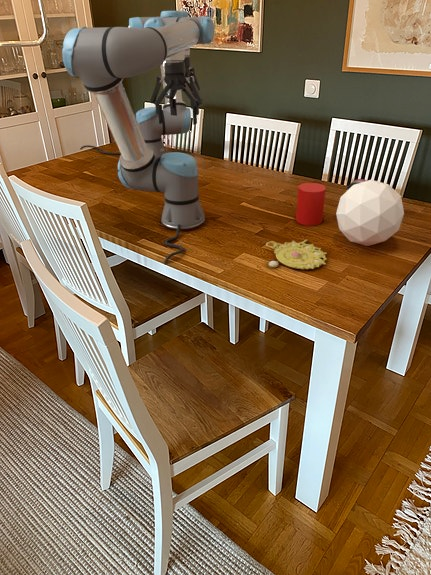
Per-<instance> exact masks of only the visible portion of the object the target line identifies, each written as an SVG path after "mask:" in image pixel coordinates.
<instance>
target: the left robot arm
mask: <svg viewBox="0 0 431 575" xmlns="http://www.w3.org/2000/svg"><path fill="white" fill-rule="evenodd" d="M180 11H181V13H182V17H189V13H188V11H187V10H180ZM153 17H155V18H156V17H158V18H161V16H141V17H140V16H136V17H135V16H134V17H130V18H129V20H128V28H144V24H145V22H146V21H147V20H148V19H150V18H153ZM190 55H191V47H190V48H187V49H185V50H184V56H185V60H183V62H184V63H185V75H186V77H191V76H194V80H195V84H196V86H197V88H198V90H199V91H200V90H201V88H200V85H199V82H198V79H197V76H196V71H195V68H194V67H192V64H191V56H190ZM164 63H165V61H164ZM164 63H163V64H162V65H160V66H159V67H160V73H161V77H165V71H164ZM166 85H167V84H166V83H165V81H163V83H162V88H163V90H164V88H165V86H166ZM185 85H186V86H187V87H188V89H189V90H190V92H191V93H192V94H193V96H194V97H195V98H196V96H195V94H194V92H193V90H192V87H191V85H190V83H188V81H186V83H185ZM196 99H197V98H196ZM189 100H190V99H189ZM192 106H194V104H193V103H192V101H191V100H190V107H187V103H186V102H184V101H183V91H182V90H181V89H180V90H171V89H170V90H169V91H168V92H167V94H166V95H165V97H164V104H162V111H163V123H162V124H159V115H158V114H156V107H155V106H149V107H144V108H142V109H139V110H138V111H137V112H136V113H135V118H136V120H137V123H138V126H139V128H140V131H141V133H142V136H143V139H144V141H145V144H146V145H149V146H150V147H151V148H152V149H153V152H154V154H155V156H156V157H161V156H162V155H163V154H165V153H168V152H167V150H166V148H165V145H164V142H163V136H172V135H183V134H188V133H189V132H190V130H191V120H192V115H191V114H192V113H191V110H193V107H192ZM84 148H92V149H97V150H98V151H99V153H101V154H105V155H121V153H120V152H112V151H111V152H110V151H103V150H102V149H101V147H100V146H95V145H88V144H87V145H85V144H84V145H82V146H81V147H80V148H79V150H80V151H81V150H83V149H84Z"/></svg>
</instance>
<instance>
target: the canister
mask: <svg viewBox="0 0 431 575" xmlns="http://www.w3.org/2000/svg"><path fill="white" fill-rule="evenodd" d="M326 191H327V187H326V185H324V184H321V183H318V182H304V183H301V184H299V185H298V186H297V198H296V199H297V201H296V209H295V210H296V212H295V221H296V223H298V224H300V225H302V226H307V227H308V226H309V227H311V226H313V227H314V226H318V225H320V224H322V223H323V218H324V209H325V199H326Z"/></svg>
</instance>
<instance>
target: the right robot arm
mask: <svg viewBox="0 0 431 575" xmlns="http://www.w3.org/2000/svg"><path fill="white" fill-rule="evenodd" d="M181 11H182V10H162V11H161V12H160V17H161V18H158V17H159V16H152V17H153V18H150V19H148V20H147V21H146V22H145V24H144V28H128V27H129V26H128V27H127V26H126V27H125V26H108V27H106V26H105V27H104V26H103V27H88V26H83V27H75V28H71V29H70V30H69V31H68V32H67V33H66V34H65V37H64V39H63V42H62V50H61V51H62V52H61V54H62V62H63V65H64V68H65V70H66V72H67V73H68V74H69V75H70V76H71V77H73V78H76V79H80V81H81V83H82V85H83V87H84V89H85V91H87V92H90V93H92V94H93V95H94V97H95V100H96V102H97V104H98V107H99V108H100V111H101V113H102V115H103V118H104V119H105V122H106V124H107V127H108V129H109V131H110V133H111V135H112V137H113V139H114V142H115V145H116V147H117V148H118V151H119V153H121V154H120V156H119V160H118V162H117V171H118V172H117V177H118V178H119V181H120V183H121V184H122V185H123V186H124V187H125V188H127V189H130V190H134V191H142V192H152V193H161V194H163V195H164V204H163V209H162V213H161V219H160V220H161V225H162V227H163V228H165V229H167V230H170V231H175V235H174V236H173V237H170V238H166V239H165V240H164V244H165V245H166V246H167V247H170V248H171V247H172V248H175V249H176V248H177V249H179V250H177V251H174V252H171V253H169V254H168V255H167V256H166V257H165V259H164V261H163V265H168V262H169V260H170V259H171V258H172V257H173V256H176V255H180V254H182V253H183V252H184V247H183V246H181V245H180V244H175V243H170V242H172V241H175V240H176V239H178V237H179V235H180V232H185V231H186V232H187V231H192V230H195V229H198V228H201V227H202V226H203V225H204V224H205V223H206V216H205V212H204V210H203V208H202V204H201V202H200V196H199V170H198V164H197V163H198V162H197V160H196V159H195V157H194V156H192V155H191V154H188V153H185V152H179V151H174V152H172V151H170V152H167V153H165V154H163V155H162V156H161V157H156V156H155V154H154V152H153V149H152V148H151V147H150V146H149V145H146V144H145V141H144V139H143V136H142V133H141V131H140V128H139V126H138V123H137V120H136V114H135V112H134V110H133V108H132V105H131V102H130V99H129V97H128V94H127V92H126V89H125V87H124V84H123V80H124V79H126V78H127V79H128V78H132V77H136V76H140V75H142V74H145V73H147V72H149V71H152V70H155V69H156V68H158V67H161V66H160V65H162V64H163V63H164V61H165V63H164V71H165V77H162V75H158V76H156V83H155V86H154V89H153V91H152V95H151V97H150V100H149V103H150V104H153V105H154V107H156V114H158V115H159V124H162V123H163V111H162V110H163V104H161V103H162V101H163V100H164V99H165V95H166V94H167V92H168V91H169V90H170V89H171V90H180V89H181V92H183V93H184V94H185V95H186V97H187V98H188V99H189V100H191V101H192V103H193V104H194V106H192V107H193V109H192V125H194V126H196V125H197V124H198V115H200V106H201V105H203V104H204V102H205V100H204V98H203V96H202V94H201V92H200V90H198V88H197V86H196V84H195V80H194V76H191V77H186V75H185V63H184V62H183V60H185V56H184V50H185V49H187V48H190V49H191V48H192V47H194V46H196V45H211V43H212V42H213V41H214V37H215V23H214V21H213V18H212V17H210V16H203V15H201V16H188V17H182V13H181ZM155 17H156V18H155ZM163 81H165V83H166V84H167V85H166V86H165V88H164V89H163V90H162V91H161V93H160V95H159V92H160V89H161V87H162V85H163ZM186 81H188V83H190V85H191V87H192V90H193V92H194V94H195V96H196V98H197V99H196V98H195V97H194V96H193V94H192V92H191V90H190V89H189V87H188V85H187V84H186ZM158 95H159V96H158ZM191 101H190V102H191Z"/></svg>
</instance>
